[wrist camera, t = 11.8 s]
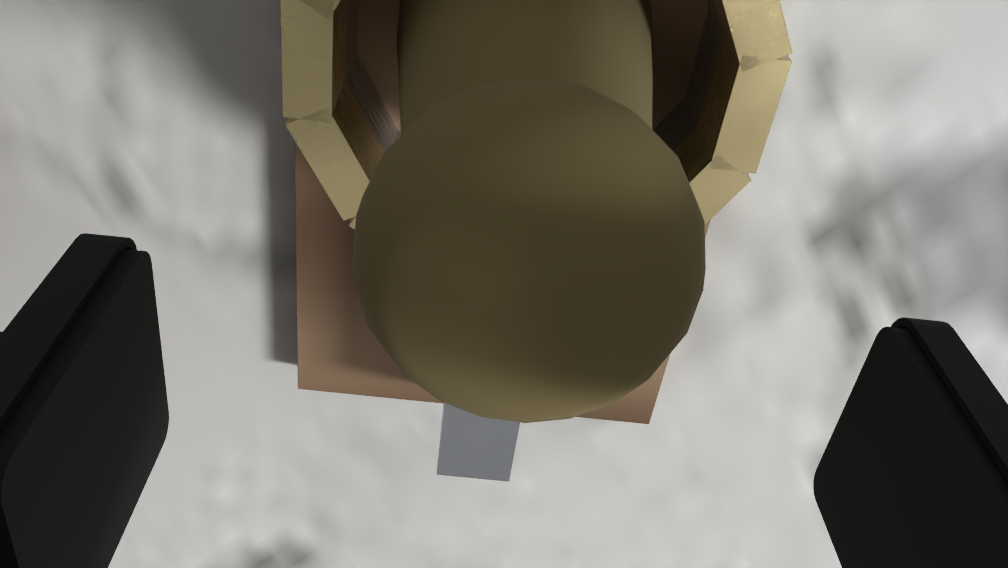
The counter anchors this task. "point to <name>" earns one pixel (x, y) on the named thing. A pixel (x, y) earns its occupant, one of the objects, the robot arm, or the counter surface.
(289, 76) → the ring bracket
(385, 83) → the board with octagonal collar
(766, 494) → the counter surface
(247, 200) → the counter surface
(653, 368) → the cork
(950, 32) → the counter surface
